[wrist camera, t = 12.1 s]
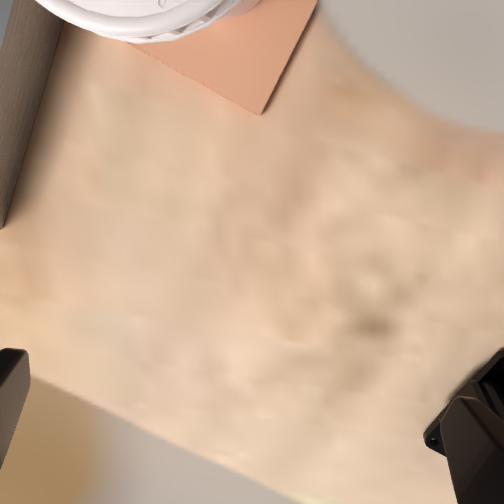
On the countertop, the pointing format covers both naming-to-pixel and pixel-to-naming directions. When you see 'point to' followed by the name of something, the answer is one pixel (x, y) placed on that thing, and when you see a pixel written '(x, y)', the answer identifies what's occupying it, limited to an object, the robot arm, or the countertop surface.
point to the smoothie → (146, 16)
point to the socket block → (21, 82)
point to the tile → (240, 51)
